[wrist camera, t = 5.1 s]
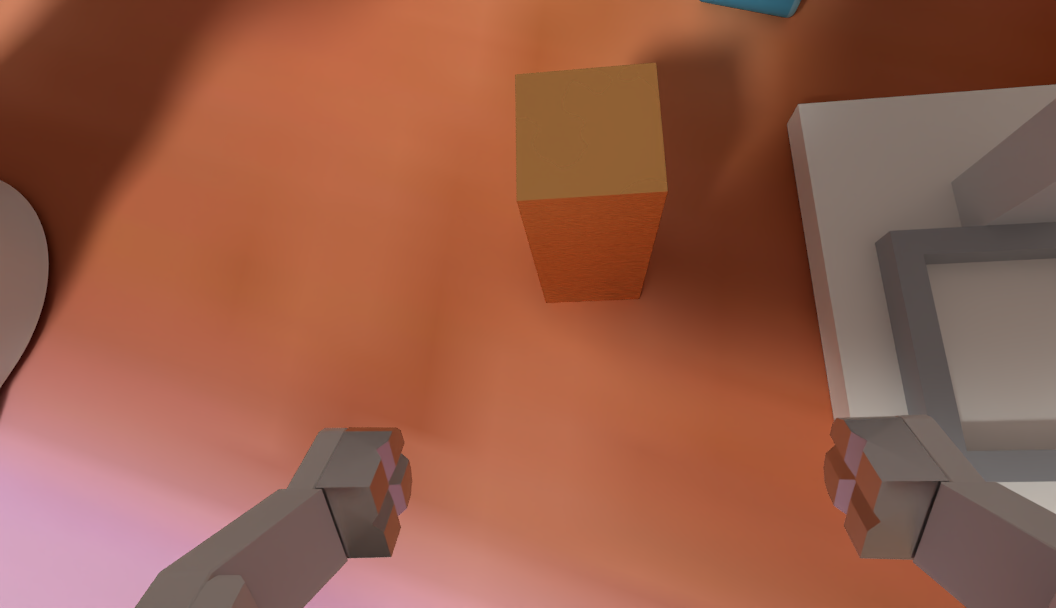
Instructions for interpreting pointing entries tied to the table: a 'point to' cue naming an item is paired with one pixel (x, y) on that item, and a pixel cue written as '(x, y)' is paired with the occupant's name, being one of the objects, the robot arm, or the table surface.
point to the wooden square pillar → (590, 178)
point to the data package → (761, 6)
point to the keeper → (939, 267)
